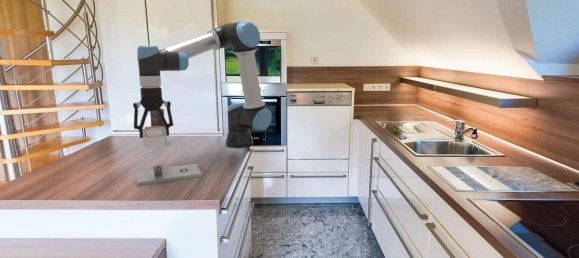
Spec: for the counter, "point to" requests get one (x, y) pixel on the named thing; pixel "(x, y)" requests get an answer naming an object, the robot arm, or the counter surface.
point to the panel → (167, 174)
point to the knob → (154, 137)
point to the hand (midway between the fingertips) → (155, 144)
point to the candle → (156, 118)
